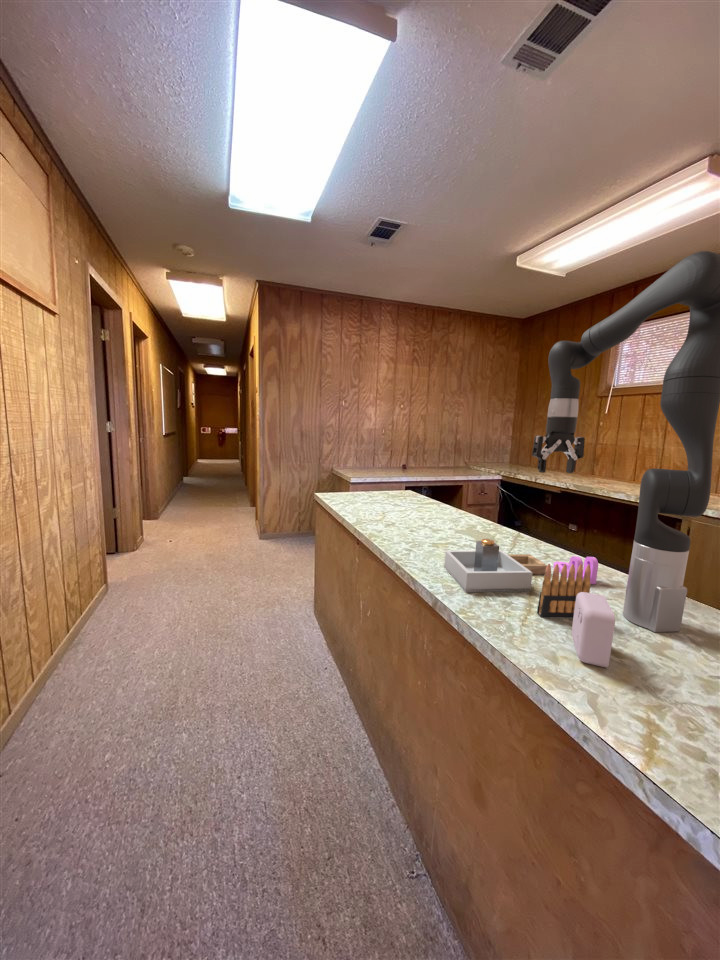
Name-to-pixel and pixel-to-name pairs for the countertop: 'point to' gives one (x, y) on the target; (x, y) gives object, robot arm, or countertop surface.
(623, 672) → the countertop surface
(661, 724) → the countertop surface
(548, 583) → the ammunition clip
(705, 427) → the robot arm
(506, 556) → the bin
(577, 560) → the pink humped piece
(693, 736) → the countertop surface
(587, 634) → the electronic device
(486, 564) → the grey upright block
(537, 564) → the socket block
